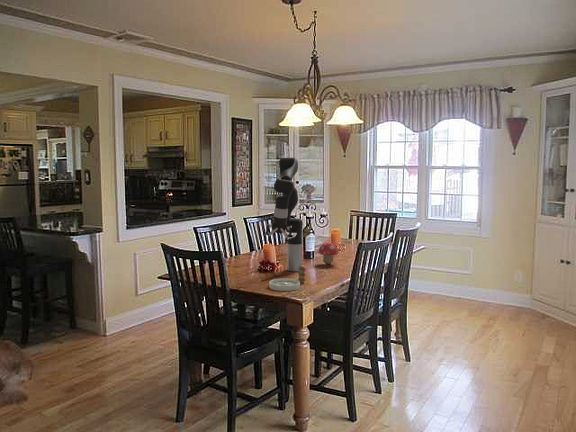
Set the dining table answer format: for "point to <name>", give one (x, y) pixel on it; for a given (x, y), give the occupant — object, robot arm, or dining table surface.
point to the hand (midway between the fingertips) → (277, 242)
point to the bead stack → (301, 274)
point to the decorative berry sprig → (269, 268)
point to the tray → (284, 284)
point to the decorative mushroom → (328, 252)
